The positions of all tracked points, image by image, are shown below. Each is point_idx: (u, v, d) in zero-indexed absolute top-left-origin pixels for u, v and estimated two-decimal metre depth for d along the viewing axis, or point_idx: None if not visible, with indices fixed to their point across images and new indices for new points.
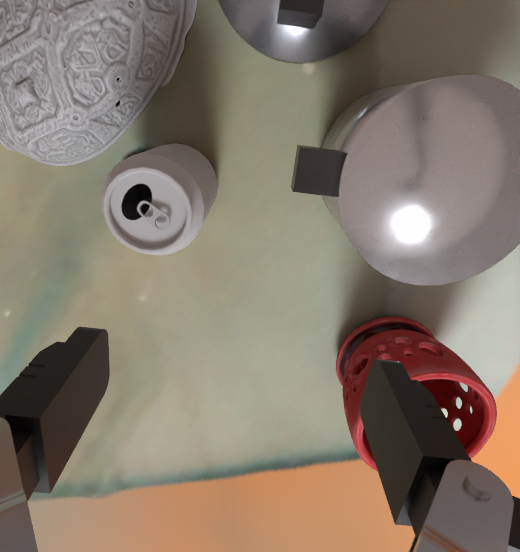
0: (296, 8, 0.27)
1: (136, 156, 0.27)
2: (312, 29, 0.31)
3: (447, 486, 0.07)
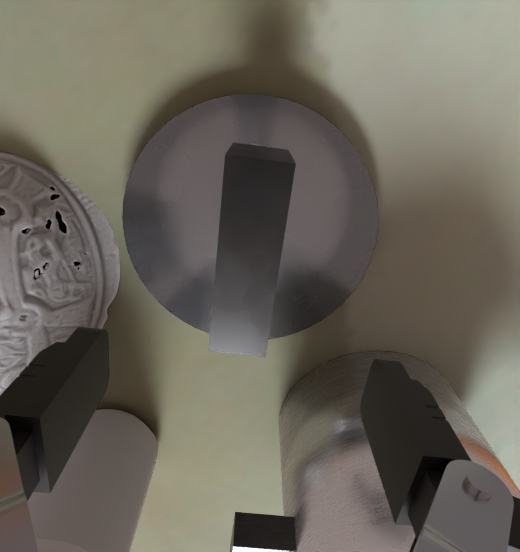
0: (231, 350, 0.20)
1: None
2: None
3: (447, 486, 0.07)
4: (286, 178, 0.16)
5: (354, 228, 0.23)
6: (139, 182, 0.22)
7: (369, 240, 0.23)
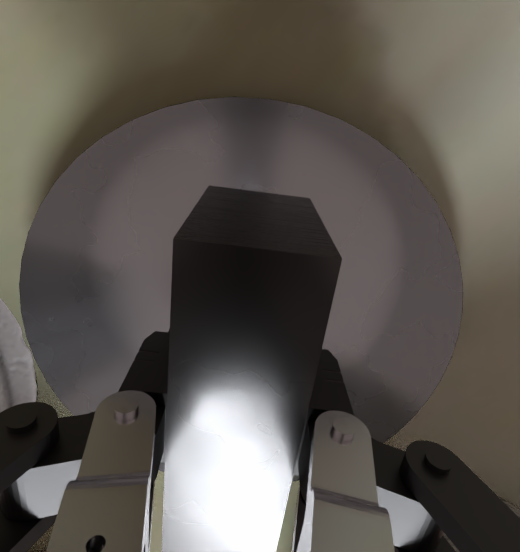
0: None
1: None
2: None
3: (313, 430, 0.08)
4: (318, 290, 0.07)
5: (420, 326, 0.13)
6: (44, 253, 0.12)
7: (444, 345, 0.13)
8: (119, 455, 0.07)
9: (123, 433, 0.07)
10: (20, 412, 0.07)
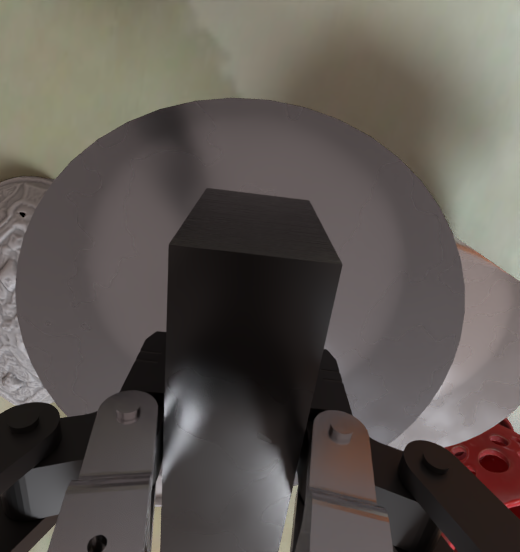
0: None
1: None
2: None
3: (312, 430, 0.08)
4: (318, 297, 0.07)
5: (421, 330, 0.13)
6: (40, 257, 0.12)
7: (446, 348, 0.13)
8: (121, 455, 0.07)
9: (125, 433, 0.07)
10: (23, 412, 0.07)
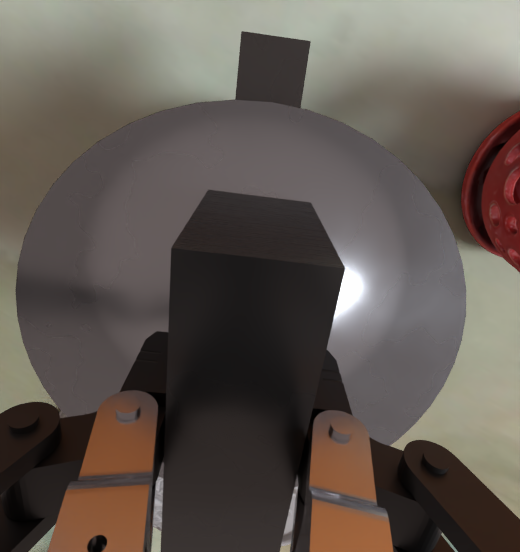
0: None
1: None
2: None
3: (312, 430, 0.08)
4: (321, 300, 0.07)
5: (422, 332, 0.13)
6: (41, 258, 0.12)
7: (446, 350, 0.13)
8: (121, 455, 0.07)
9: (124, 433, 0.07)
10: (23, 412, 0.07)
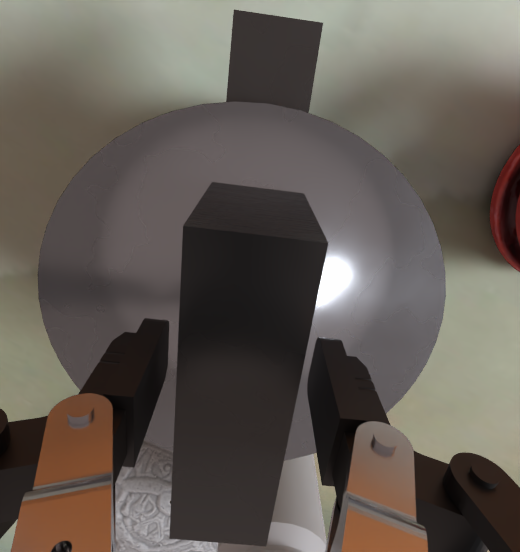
0: (208, 538, 0.12)
1: None
2: None
3: (355, 442, 0.08)
4: (308, 271, 0.08)
5: (406, 312, 0.14)
6: (61, 244, 0.13)
7: (429, 329, 0.15)
8: (67, 460, 0.07)
9: (79, 437, 0.07)
10: None
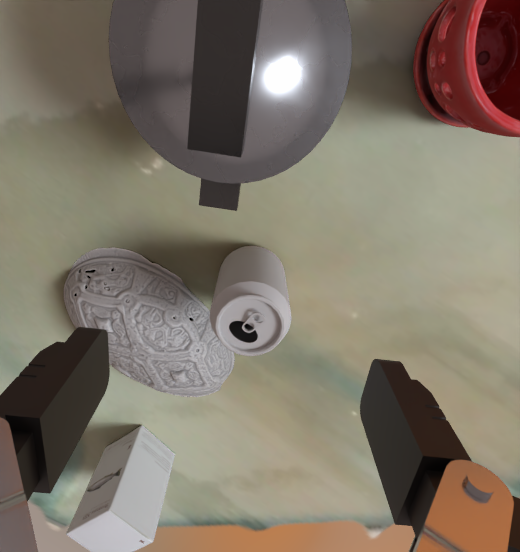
0: (208, 149, 0.21)
1: (211, 324, 0.35)
2: (243, 149, 0.26)
3: (447, 486, 0.07)
4: None
5: (329, 58, 0.24)
6: (125, 0, 0.23)
7: (343, 72, 0.24)
8: None
9: None
10: None
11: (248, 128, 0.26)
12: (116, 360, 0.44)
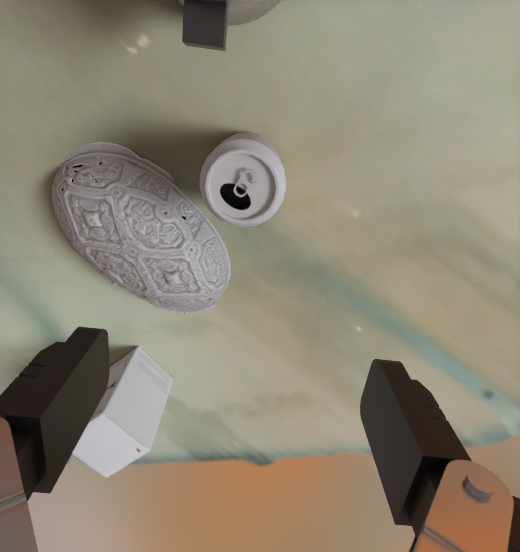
0: None
1: (201, 193, 0.33)
2: None
3: (447, 486, 0.07)
4: None
5: None
6: None
7: None
8: None
9: None
10: None
11: None
12: (106, 261, 0.42)
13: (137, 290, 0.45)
